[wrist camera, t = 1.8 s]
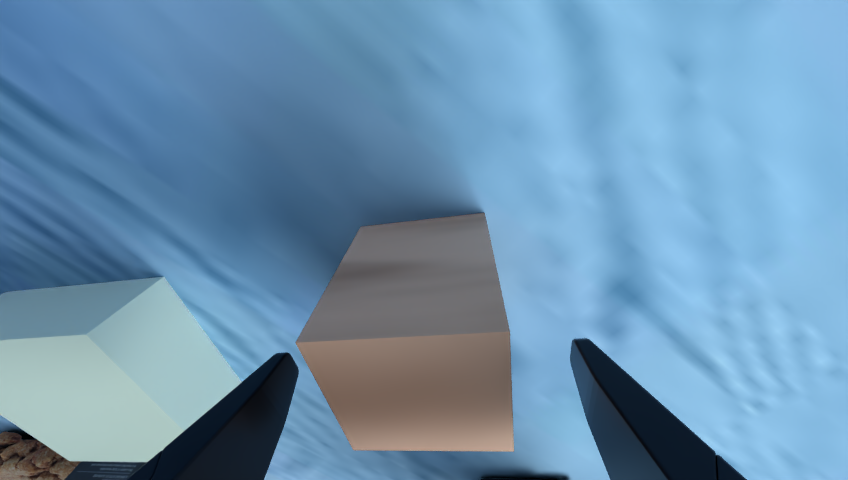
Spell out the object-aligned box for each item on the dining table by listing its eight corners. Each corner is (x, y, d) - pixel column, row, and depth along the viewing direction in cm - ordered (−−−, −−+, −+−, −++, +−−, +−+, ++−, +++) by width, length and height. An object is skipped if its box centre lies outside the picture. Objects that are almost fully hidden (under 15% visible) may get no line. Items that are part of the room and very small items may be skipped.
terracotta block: (491, 308, 14) (513, 451, 9) (388, 315, 15) (353, 450, 10) (484, 212, 12) (509, 331, 6) (361, 225, 12) (295, 342, 7)
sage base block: (257, 393, 20) (216, 463, 16) (130, 397, 21) (69, 461, 18) (169, 272, 15) (85, 334, 12) (13, 287, 16) (-102, 346, 13)
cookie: (150, 474, 28) (120, 516, 26) (76, 482, 31) (42, 520, 28) (54, 415, 24) (6, 459, 21) (-23, 430, 26) (-74, 470, 24)
